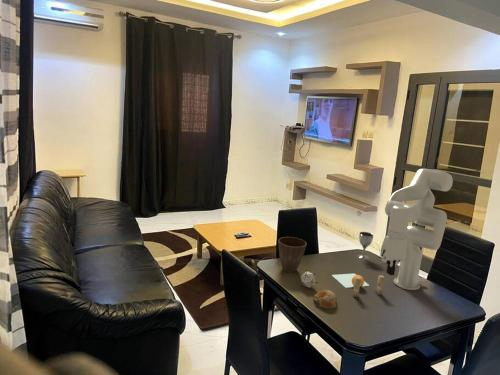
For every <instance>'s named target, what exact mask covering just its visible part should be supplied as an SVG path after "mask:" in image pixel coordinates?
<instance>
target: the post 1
mask: <svg viewBox="0 0 500 375" xmlns="http://www.w3.org/2000/svg"><path fill="white" fill-rule="evenodd" d="M360 281H361V278H359V277H355V282H354V287H353V291H352V297H354V298H358V297H359V294H360V288H361V287H360Z"/></svg>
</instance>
